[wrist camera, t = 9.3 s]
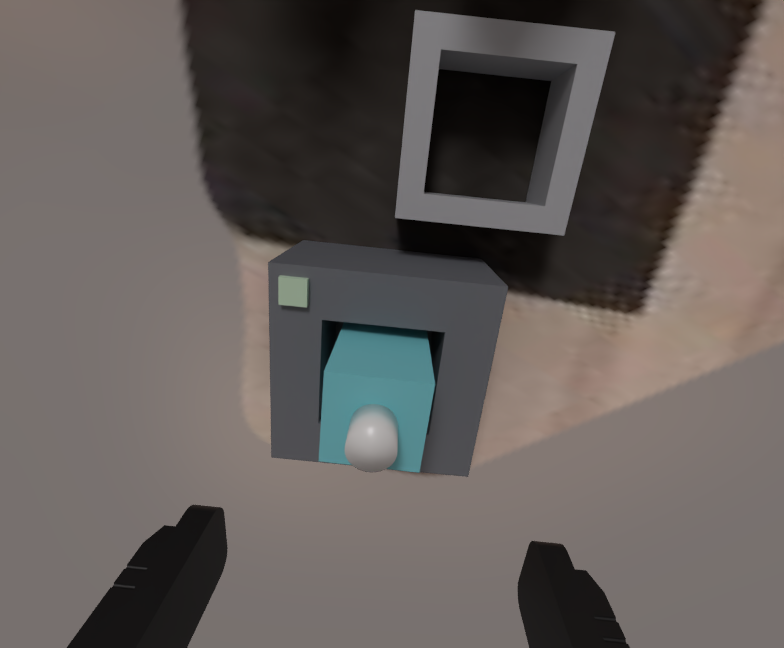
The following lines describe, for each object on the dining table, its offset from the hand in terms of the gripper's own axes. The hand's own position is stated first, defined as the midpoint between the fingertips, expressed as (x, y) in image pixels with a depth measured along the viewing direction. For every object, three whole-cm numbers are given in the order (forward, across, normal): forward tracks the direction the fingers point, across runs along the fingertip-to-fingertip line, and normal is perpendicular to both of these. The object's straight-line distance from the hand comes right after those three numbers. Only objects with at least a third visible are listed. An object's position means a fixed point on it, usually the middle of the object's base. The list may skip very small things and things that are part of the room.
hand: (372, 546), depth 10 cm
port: (+14, +1, 0) cm, 14 cm away
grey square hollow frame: (+14, -4, -11) cm, 19 cm away
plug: (+13, +1, 0) cm, 13 cm away
